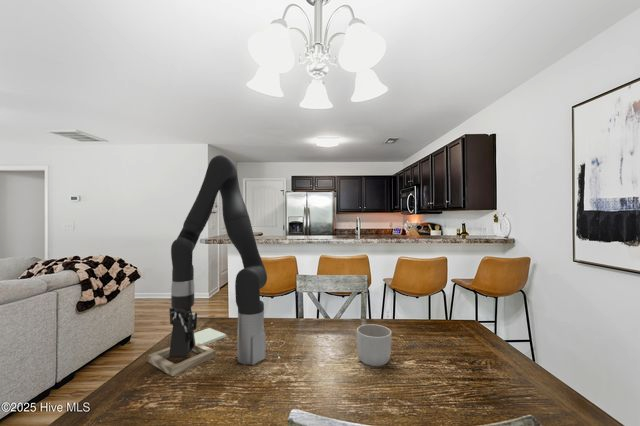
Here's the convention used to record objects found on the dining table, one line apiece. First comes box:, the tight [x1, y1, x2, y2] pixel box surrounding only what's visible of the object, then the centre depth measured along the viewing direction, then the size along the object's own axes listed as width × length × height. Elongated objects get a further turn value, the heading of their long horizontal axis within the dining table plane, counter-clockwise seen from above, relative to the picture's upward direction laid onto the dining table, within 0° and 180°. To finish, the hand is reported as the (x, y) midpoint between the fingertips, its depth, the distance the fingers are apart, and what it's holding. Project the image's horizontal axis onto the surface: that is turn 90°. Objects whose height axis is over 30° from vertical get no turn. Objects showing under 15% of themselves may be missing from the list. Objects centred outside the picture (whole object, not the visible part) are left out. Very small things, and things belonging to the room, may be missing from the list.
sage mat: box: [194, 327, 227, 346], centre depth 125 cm, size 12×12×1 cm
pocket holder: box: [147, 342, 216, 377], centre depth 107 cm, size 16×16×2 cm
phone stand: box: [168, 317, 195, 358], centre depth 106 cm, size 9×6×12 cm, turn 5°
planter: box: [356, 323, 393, 367], centre depth 107 cm, size 12×12×11 cm
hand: (182, 339), depth 106 cm, fingers closed on phone stand, 6 cm apart
